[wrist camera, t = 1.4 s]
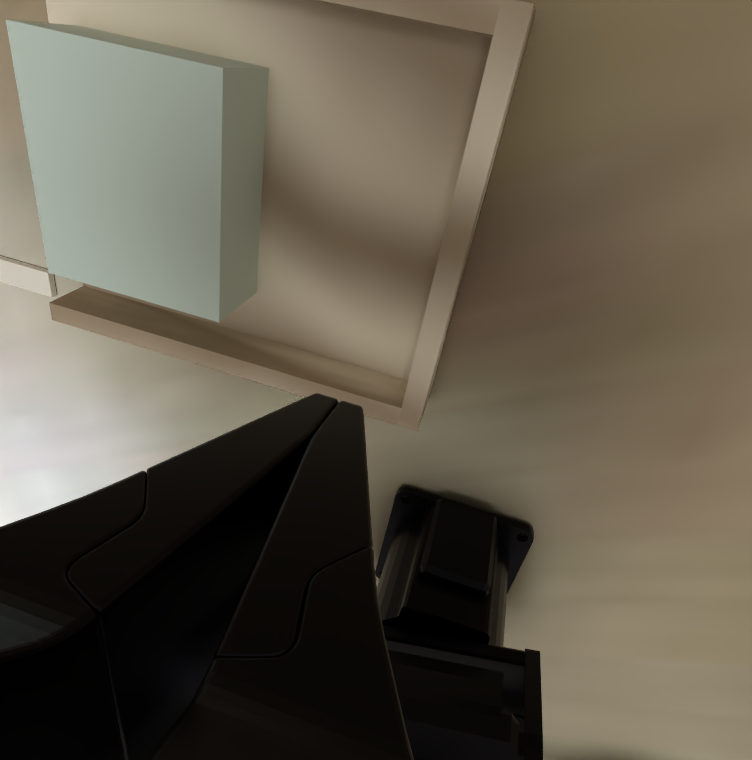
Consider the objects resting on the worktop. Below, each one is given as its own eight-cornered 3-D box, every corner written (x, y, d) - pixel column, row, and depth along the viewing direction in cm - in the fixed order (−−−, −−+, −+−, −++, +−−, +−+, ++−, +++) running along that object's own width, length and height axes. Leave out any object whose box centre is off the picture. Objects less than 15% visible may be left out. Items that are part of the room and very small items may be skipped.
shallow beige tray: (428, 397, 23) (417, 430, 21) (93, 298, 25) (52, 319, 23) (535, 11, 15) (534, 3, 13) (46, -83, 17) (-21, -103, 15)
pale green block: (256, 292, 22) (218, 322, 19) (103, 249, 23) (48, 272, 20) (268, 67, 17) (223, 67, 15) (78, 25, 18) (5, 19, 16)
